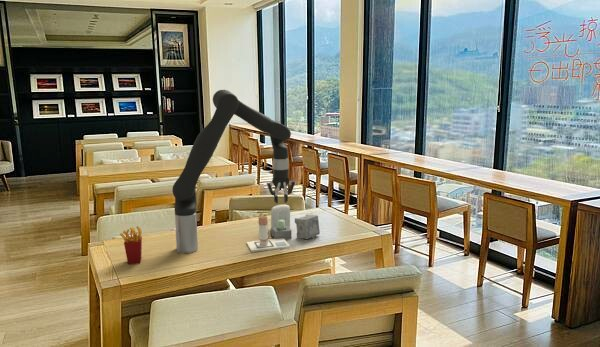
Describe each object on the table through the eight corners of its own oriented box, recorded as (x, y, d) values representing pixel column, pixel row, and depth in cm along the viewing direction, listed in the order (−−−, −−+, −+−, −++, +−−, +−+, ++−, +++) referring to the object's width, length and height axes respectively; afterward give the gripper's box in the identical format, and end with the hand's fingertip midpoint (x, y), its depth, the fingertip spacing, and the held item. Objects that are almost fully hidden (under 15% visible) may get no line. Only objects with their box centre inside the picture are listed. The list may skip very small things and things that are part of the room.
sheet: (251, 252, 209) (251, 250, 209) (246, 243, 220) (246, 241, 219) (290, 247, 215) (290, 245, 214) (283, 239, 225) (283, 237, 225)
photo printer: (287, 225, 246) (286, 202, 243) (291, 227, 242) (291, 204, 240) (269, 228, 240) (269, 205, 237) (274, 231, 237) (273, 207, 234)
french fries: (142, 264, 196) (139, 230, 193) (121, 265, 195) (118, 231, 191) (144, 256, 205) (142, 223, 202) (124, 257, 203) (121, 224, 200)
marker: (260, 246, 214) (259, 219, 211) (258, 243, 218) (257, 216, 215) (269, 245, 215) (268, 218, 212) (267, 242, 219) (266, 215, 216)
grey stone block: (307, 232, 235) (307, 212, 233) (320, 236, 230) (320, 215, 227) (294, 237, 228) (294, 216, 226) (306, 241, 223) (306, 220, 220)
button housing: (275, 240, 224) (275, 232, 223) (271, 234, 232) (271, 226, 231) (291, 238, 227) (291, 230, 226) (286, 232, 234) (286, 225, 233)
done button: (278, 234, 227) (278, 222, 225) (276, 231, 230) (276, 220, 228) (285, 233, 228) (285, 221, 226) (283, 231, 231) (283, 219, 229)
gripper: (267, 170, 216) (268, 206, 220) (297, 168, 220) (297, 203, 224) (264, 167, 223) (264, 201, 227) (292, 165, 227) (292, 199, 231)
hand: (280, 202), depth 225 cm, fingers open, 3 cm apart
